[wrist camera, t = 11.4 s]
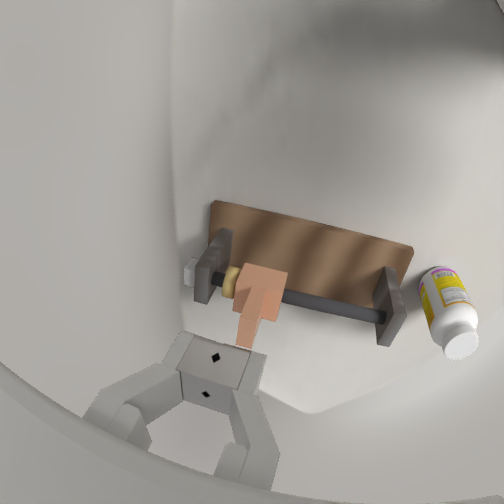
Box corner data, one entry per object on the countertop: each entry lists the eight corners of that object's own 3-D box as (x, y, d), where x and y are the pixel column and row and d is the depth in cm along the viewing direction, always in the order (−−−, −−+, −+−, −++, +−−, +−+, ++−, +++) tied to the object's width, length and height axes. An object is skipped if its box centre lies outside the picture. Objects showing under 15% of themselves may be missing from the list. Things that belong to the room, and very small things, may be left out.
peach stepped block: (287, 272, 35) (275, 324, 28) (281, 300, 38) (267, 353, 30) (245, 262, 36) (222, 311, 29) (241, 290, 38) (219, 340, 31)
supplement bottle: (433, 308, 42) (451, 372, 31) (408, 285, 41) (425, 351, 30) (465, 281, 38) (493, 342, 27) (442, 255, 37) (471, 317, 27)
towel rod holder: (412, 246, 38) (431, 298, 29) (384, 308, 44) (391, 364, 35) (215, 200, 41) (180, 238, 32) (209, 267, 47) (181, 315, 38)
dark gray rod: (393, 298, 34) (397, 318, 31) (382, 320, 36) (385, 340, 33) (194, 250, 37) (182, 266, 34) (193, 274, 39) (182, 291, 36)
